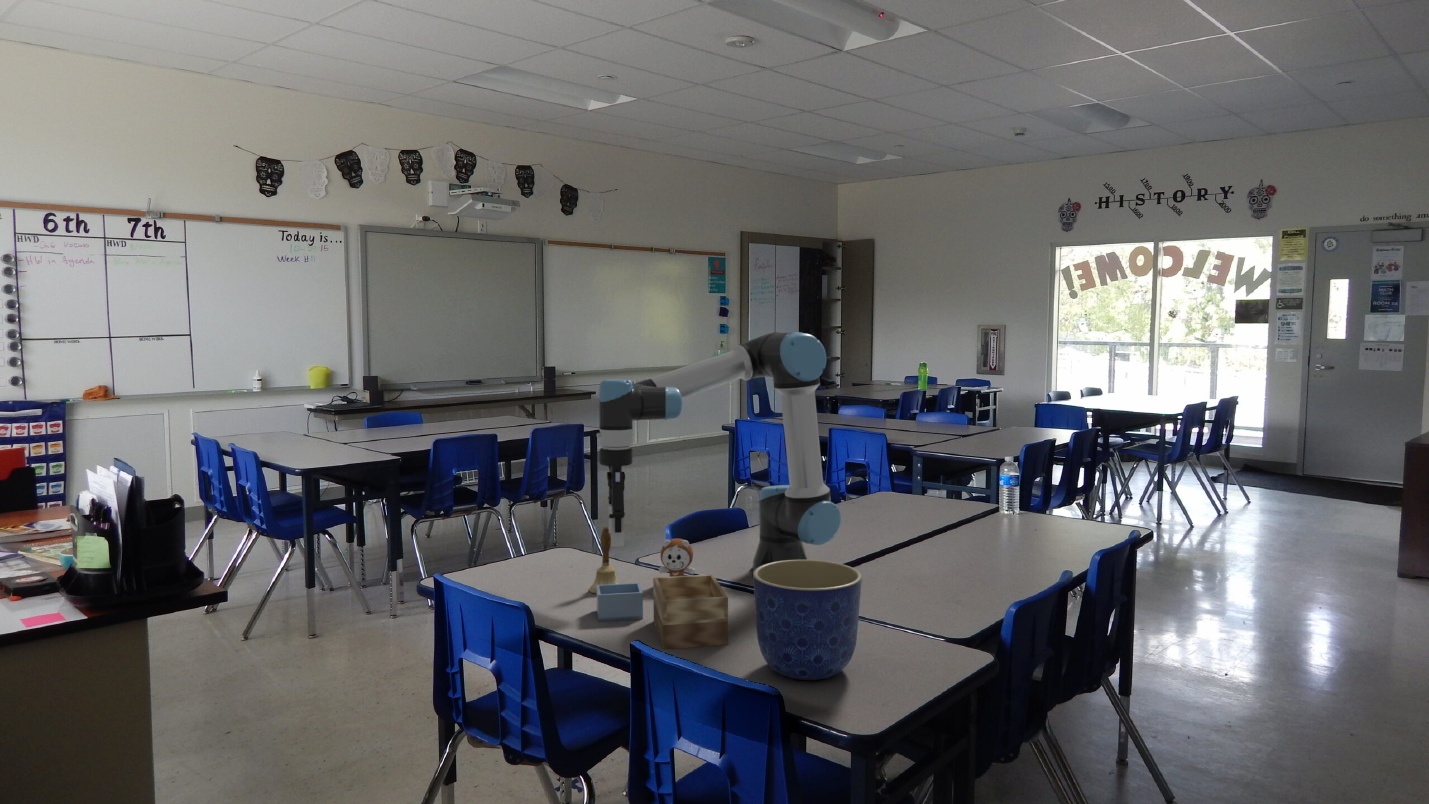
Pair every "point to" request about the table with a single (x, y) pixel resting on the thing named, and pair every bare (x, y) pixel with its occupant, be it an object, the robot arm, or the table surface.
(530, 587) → the table surface
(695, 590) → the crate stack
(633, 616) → the blue crate
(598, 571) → the hand bell
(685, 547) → the figurine
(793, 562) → the planter
